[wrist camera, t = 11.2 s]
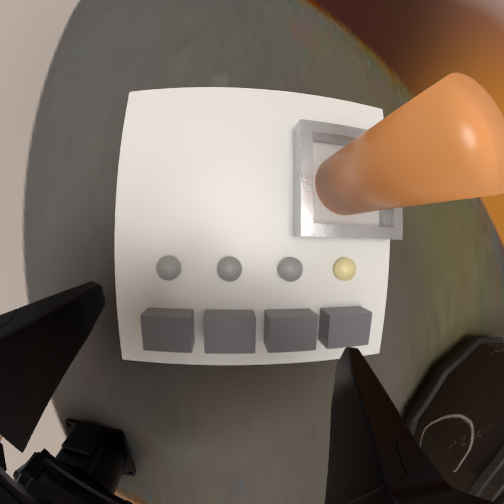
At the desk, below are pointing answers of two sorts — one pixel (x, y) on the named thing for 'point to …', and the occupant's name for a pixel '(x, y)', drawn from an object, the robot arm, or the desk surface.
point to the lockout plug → (420, 153)
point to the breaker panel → (236, 234)
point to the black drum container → (464, 418)
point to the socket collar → (304, 186)
